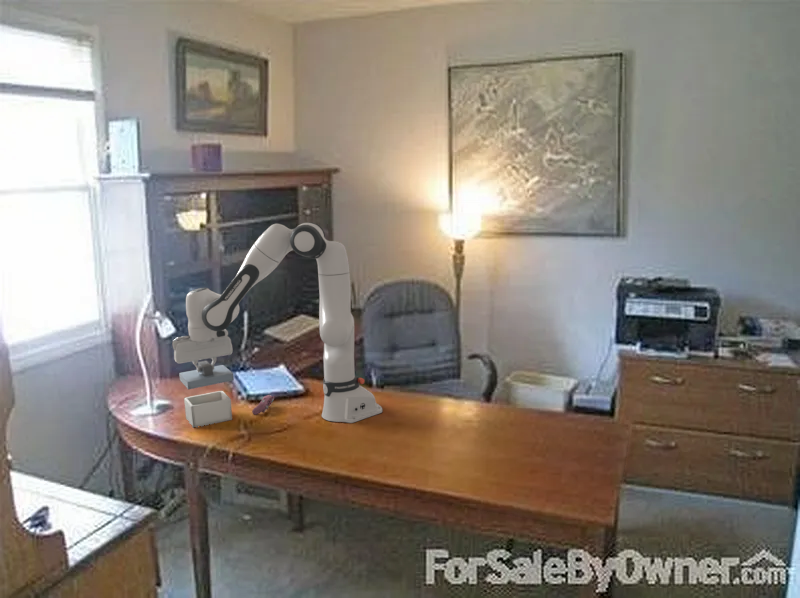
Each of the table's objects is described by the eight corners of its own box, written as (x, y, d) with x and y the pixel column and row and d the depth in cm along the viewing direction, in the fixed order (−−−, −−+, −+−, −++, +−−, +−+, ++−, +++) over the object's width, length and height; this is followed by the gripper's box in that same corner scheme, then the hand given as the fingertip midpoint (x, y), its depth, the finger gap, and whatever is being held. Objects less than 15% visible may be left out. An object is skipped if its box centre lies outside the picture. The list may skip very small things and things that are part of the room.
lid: (223, 371, 241) (222, 355, 239) (233, 380, 230) (232, 363, 228) (179, 380, 233) (178, 363, 231) (188, 389, 222) (186, 372, 220)
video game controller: (261, 419, 237) (268, 403, 235) (250, 413, 237) (257, 398, 235) (271, 409, 246) (278, 394, 244) (261, 404, 247) (267, 389, 245)
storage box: (223, 410, 242) (222, 390, 241) (232, 419, 233) (230, 398, 231) (185, 418, 235) (184, 397, 234) (193, 428, 226) (191, 406, 224)
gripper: (173, 340, 220) (178, 378, 223) (232, 330, 230) (235, 367, 233) (169, 336, 225) (174, 374, 228) (227, 327, 235) (230, 363, 238)
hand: (205, 370), depth 230 cm, fingers closed on lid, 3 cm apart
